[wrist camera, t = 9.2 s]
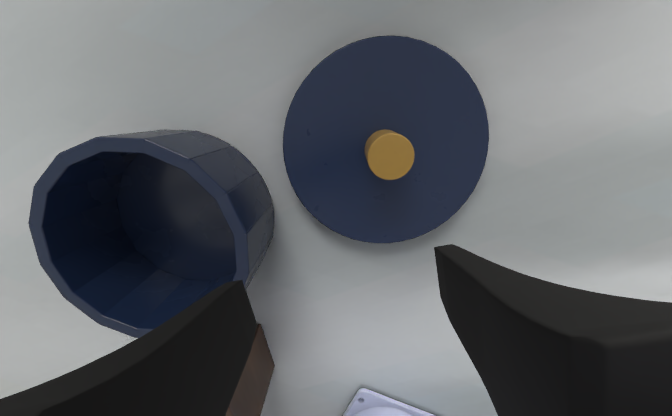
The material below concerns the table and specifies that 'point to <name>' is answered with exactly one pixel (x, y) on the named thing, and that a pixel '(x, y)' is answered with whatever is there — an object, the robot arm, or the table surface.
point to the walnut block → (253, 380)
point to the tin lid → (385, 139)
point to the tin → (149, 224)
